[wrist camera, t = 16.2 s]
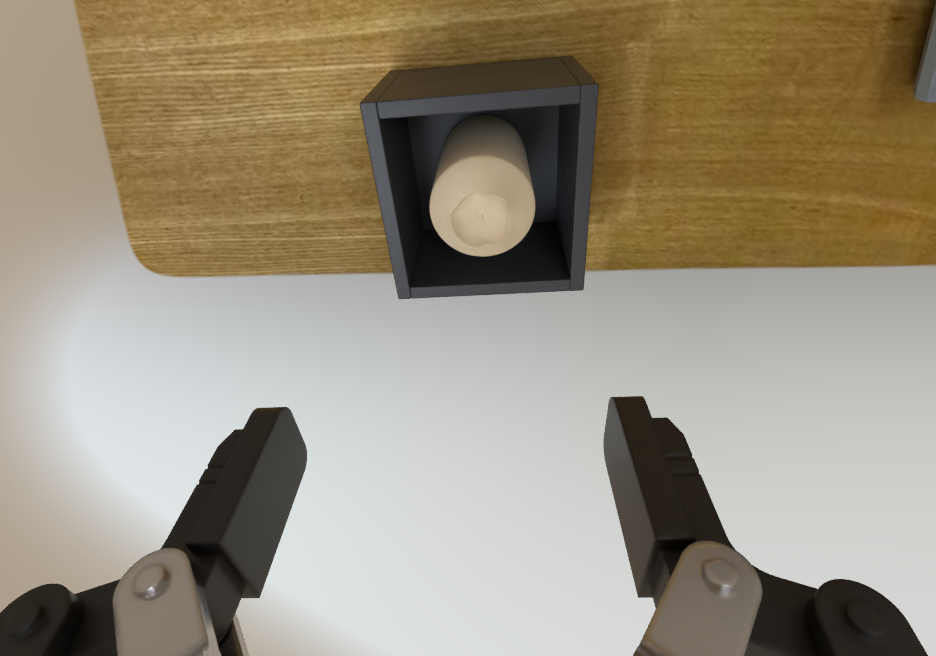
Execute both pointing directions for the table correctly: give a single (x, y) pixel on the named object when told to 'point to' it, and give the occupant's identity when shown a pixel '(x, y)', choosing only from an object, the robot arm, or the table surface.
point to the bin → (548, 154)
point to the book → (927, 66)
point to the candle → (482, 188)
